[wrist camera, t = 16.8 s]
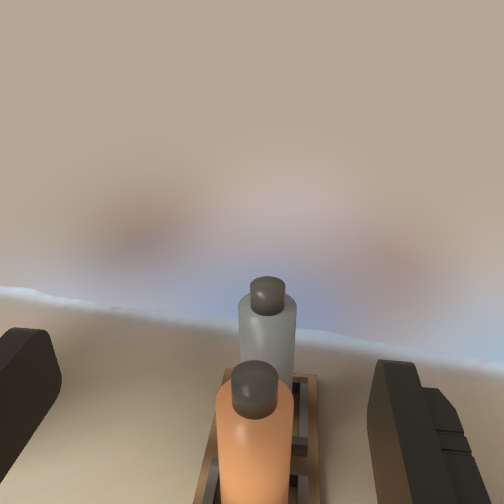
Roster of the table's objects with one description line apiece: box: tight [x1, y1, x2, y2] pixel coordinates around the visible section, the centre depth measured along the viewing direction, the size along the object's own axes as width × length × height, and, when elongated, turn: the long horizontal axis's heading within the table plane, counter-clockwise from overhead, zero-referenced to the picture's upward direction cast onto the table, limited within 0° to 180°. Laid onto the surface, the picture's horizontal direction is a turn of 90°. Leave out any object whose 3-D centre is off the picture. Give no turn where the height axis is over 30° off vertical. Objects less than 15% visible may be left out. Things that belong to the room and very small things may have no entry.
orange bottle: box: [215, 360, 294, 504], centre depth 28 cm, size 5×5×15 cm
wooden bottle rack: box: [193, 368, 320, 504], centre depth 36 cm, size 22×10×3 cm, turn 173°
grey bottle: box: [238, 276, 296, 393], centre depth 37 cm, size 5×5×15 cm
